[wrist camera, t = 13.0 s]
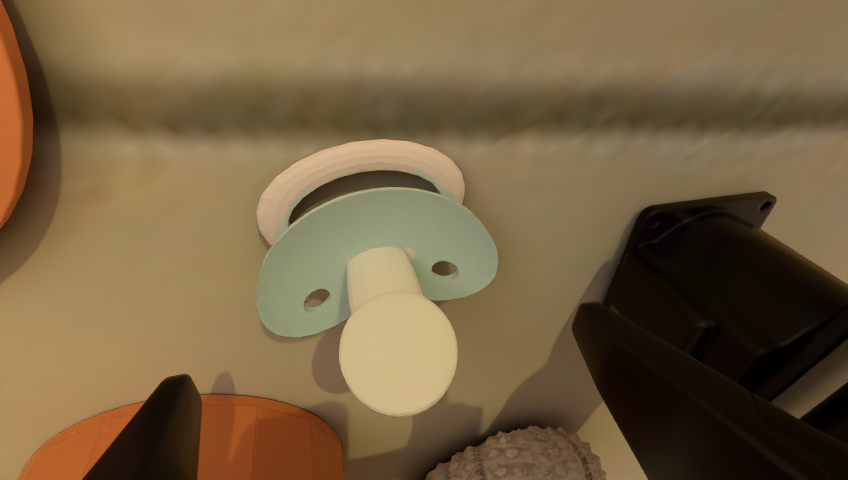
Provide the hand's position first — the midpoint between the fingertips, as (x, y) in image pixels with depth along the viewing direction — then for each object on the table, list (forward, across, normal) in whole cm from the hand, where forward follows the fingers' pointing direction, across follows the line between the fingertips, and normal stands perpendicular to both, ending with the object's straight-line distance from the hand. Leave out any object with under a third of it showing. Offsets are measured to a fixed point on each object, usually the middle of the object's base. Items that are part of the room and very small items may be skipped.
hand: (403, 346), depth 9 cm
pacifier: (+6, 0, 0) cm, 6 cm away
